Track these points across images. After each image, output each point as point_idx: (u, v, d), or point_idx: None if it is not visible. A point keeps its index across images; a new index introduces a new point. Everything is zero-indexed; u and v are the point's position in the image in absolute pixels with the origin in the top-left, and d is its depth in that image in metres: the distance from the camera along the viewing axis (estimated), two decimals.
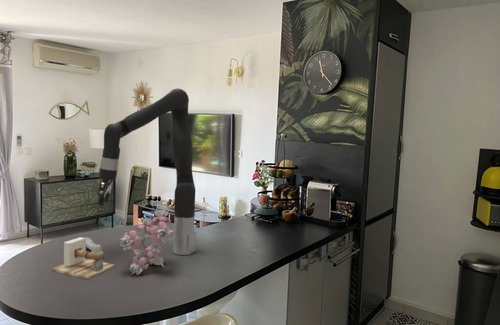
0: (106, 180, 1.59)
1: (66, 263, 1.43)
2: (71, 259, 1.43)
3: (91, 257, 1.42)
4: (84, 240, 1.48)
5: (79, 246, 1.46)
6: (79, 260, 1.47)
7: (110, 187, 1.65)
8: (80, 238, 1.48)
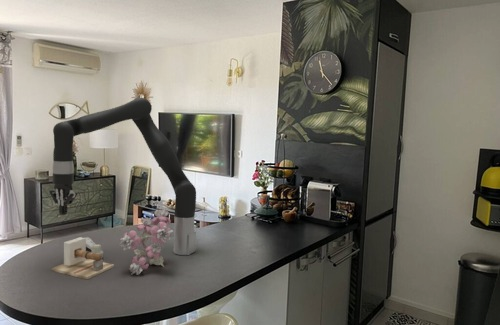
0: (71, 185, 1.45)
1: (66, 263, 1.43)
2: (71, 259, 1.43)
3: (91, 257, 1.42)
4: (84, 240, 1.48)
5: (79, 246, 1.46)
6: (79, 260, 1.47)
7: None
8: (80, 238, 1.48)
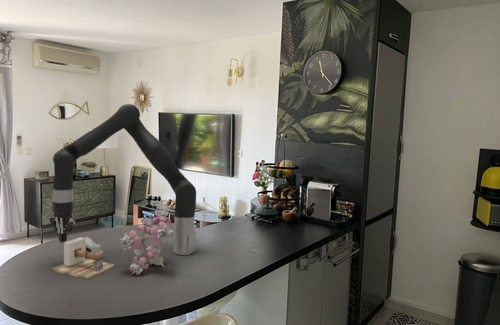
0: None
1: (66, 263, 1.43)
2: (71, 259, 1.43)
3: (91, 257, 1.42)
4: (84, 240, 1.48)
5: (79, 246, 1.46)
6: (79, 260, 1.47)
7: None
8: (80, 238, 1.48)
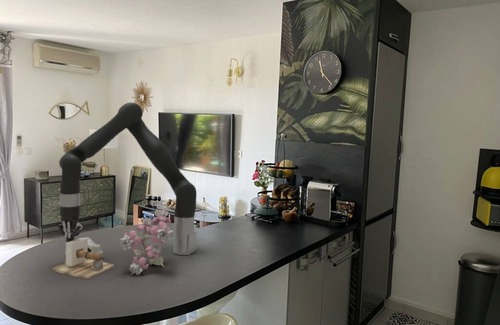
0: (78, 217, 1.45)
1: (68, 263, 1.42)
2: (73, 259, 1.43)
3: (91, 257, 1.42)
4: (86, 240, 1.48)
5: (81, 246, 1.46)
6: (81, 261, 1.46)
7: None
8: (82, 238, 1.48)
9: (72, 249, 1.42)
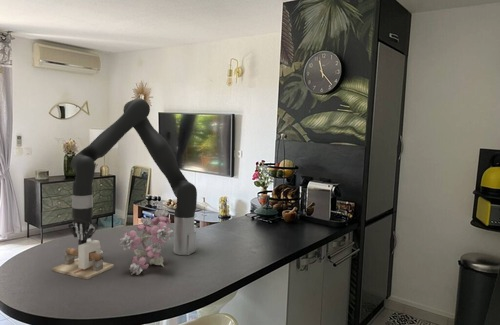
0: (90, 219, 1.43)
1: (80, 266, 1.40)
2: (86, 262, 1.40)
3: (91, 257, 1.42)
4: (98, 243, 1.46)
5: (93, 249, 1.43)
6: None
7: None
8: (94, 241, 1.46)
9: (85, 252, 1.39)
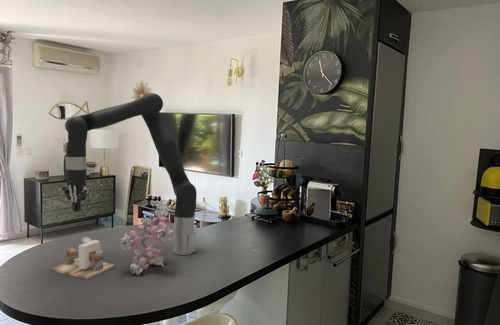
0: (84, 181, 1.43)
1: (81, 266, 1.40)
2: (86, 262, 1.40)
3: (91, 257, 1.42)
4: (98, 243, 1.46)
5: (94, 249, 1.43)
6: None
7: None
8: (94, 241, 1.46)
9: (85, 252, 1.39)
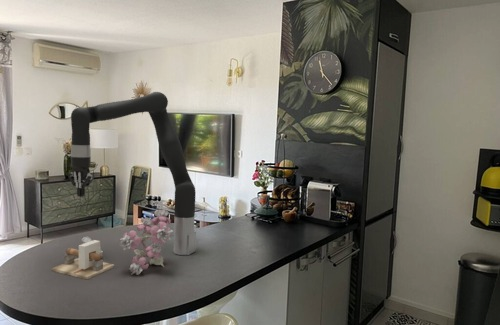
0: (88, 168, 1.52)
1: (81, 266, 1.40)
2: (86, 262, 1.40)
3: (91, 257, 1.42)
4: (98, 243, 1.46)
5: (94, 249, 1.43)
6: None
7: None
8: (94, 241, 1.46)
9: (85, 252, 1.39)
